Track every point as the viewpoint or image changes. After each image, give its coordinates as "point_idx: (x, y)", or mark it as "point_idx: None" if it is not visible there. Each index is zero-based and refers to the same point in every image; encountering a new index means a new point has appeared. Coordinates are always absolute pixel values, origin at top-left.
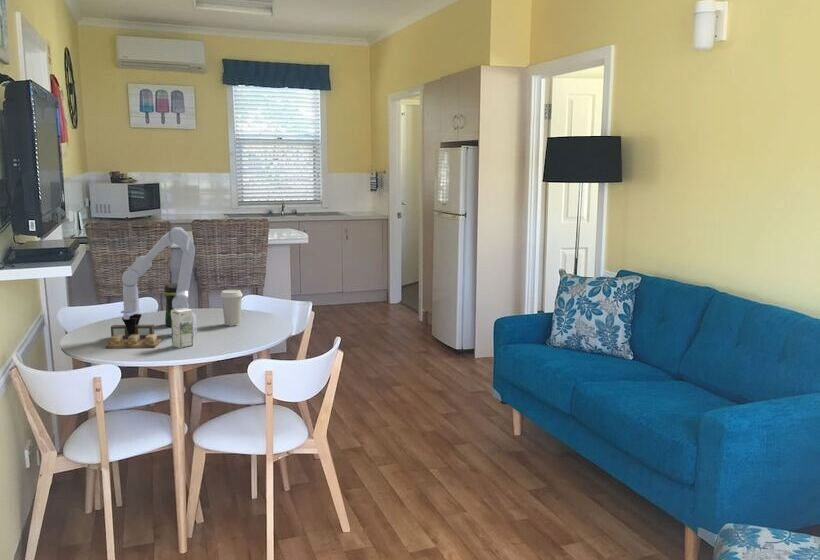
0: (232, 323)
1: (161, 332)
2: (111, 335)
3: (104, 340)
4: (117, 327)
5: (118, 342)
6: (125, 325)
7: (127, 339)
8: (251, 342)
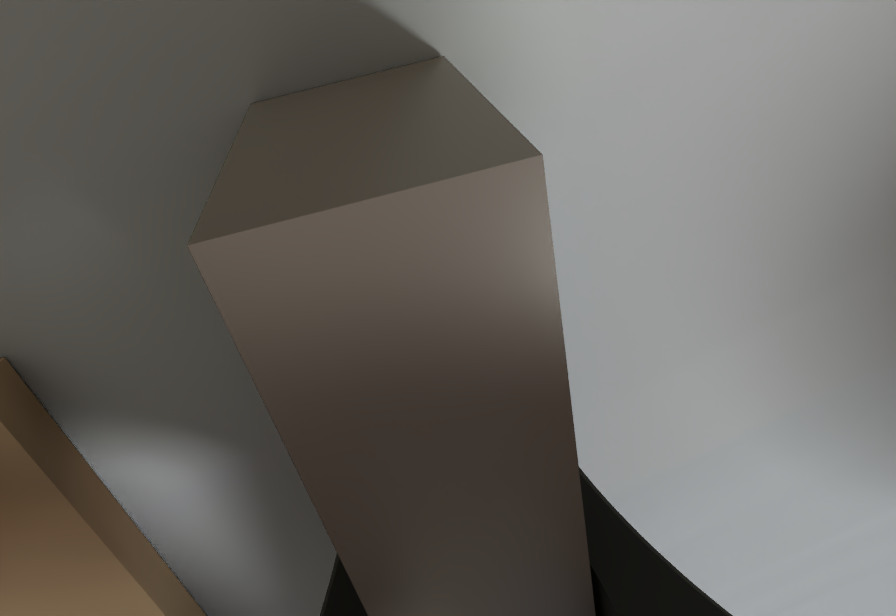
0: None
1: (780, 568)
2: (240, 137)
3: (10, 15)
4: (292, 441)
5: None
6: (492, 565)
7: (123, 575)
8: None
